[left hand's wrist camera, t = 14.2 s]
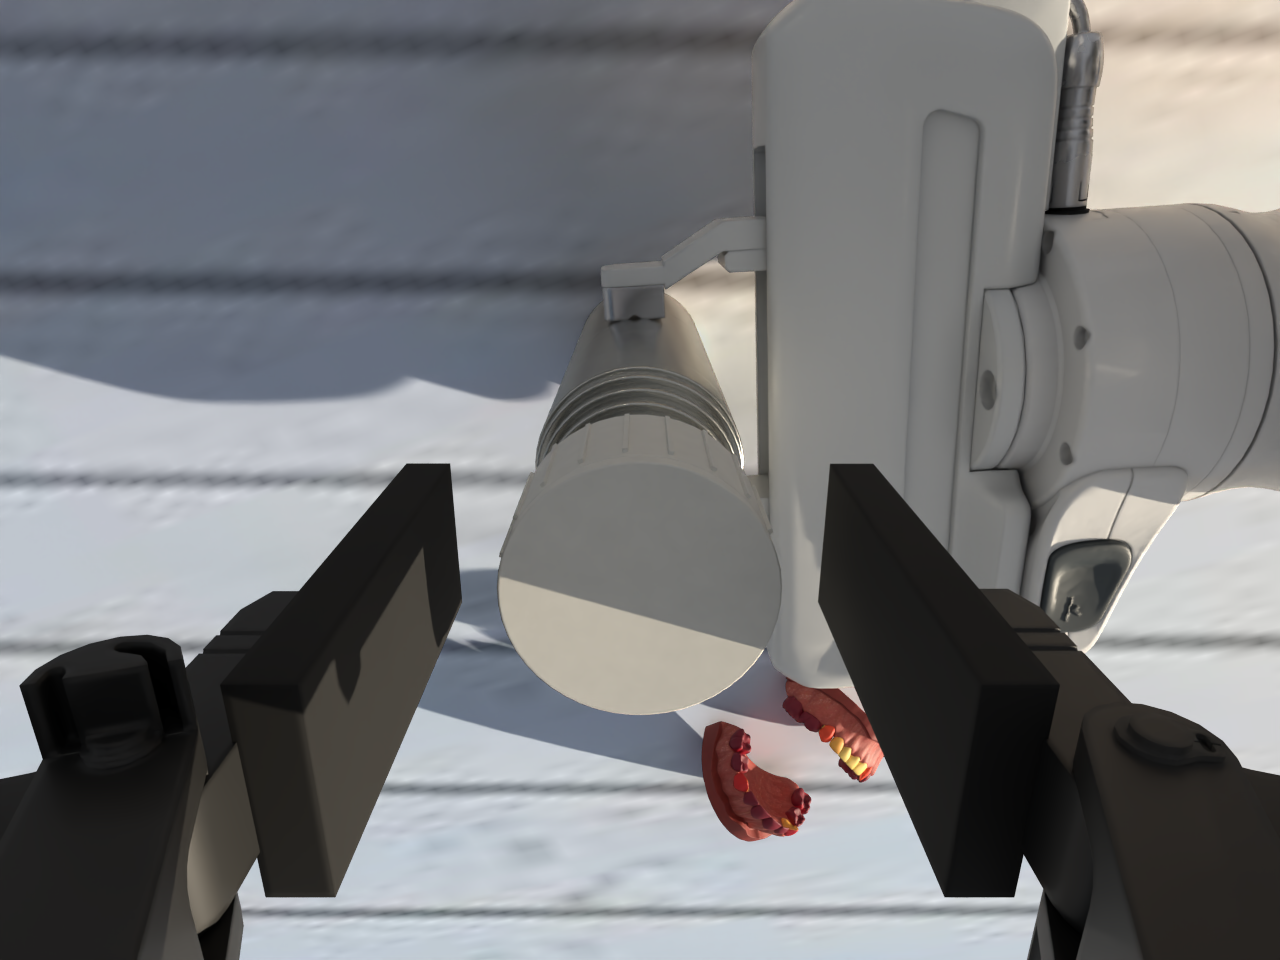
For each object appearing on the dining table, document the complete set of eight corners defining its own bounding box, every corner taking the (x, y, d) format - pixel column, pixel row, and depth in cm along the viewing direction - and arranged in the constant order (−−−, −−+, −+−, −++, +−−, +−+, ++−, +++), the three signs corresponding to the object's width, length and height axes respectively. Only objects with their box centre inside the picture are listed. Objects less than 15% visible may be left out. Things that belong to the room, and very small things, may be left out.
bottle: (705, 292, 30) (804, 452, 12) (693, 410, 31) (766, 711, 13) (582, 283, 30) (493, 432, 12) (577, 402, 31) (492, 696, 13)
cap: (519, 404, 14) (493, 451, 11) (774, 419, 14) (802, 468, 11) (517, 628, 15) (494, 710, 13) (747, 639, 15) (767, 724, 13)
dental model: (925, 786, 32) (769, 882, 34) (897, 723, 36) (758, 812, 38) (844, 695, 31) (686, 800, 33) (823, 640, 35) (684, 736, 37)
